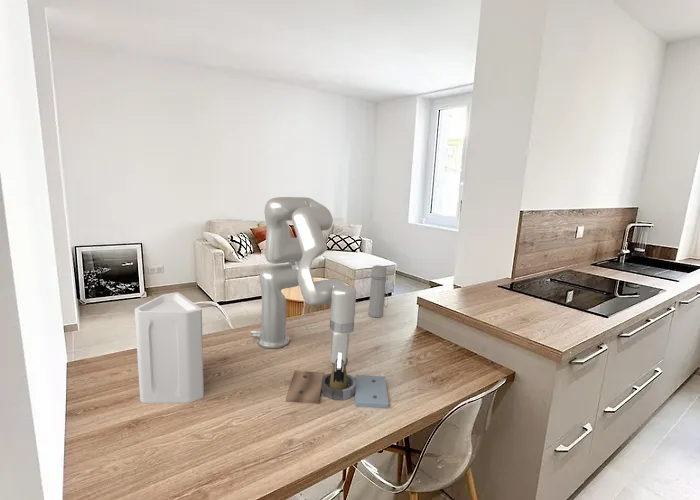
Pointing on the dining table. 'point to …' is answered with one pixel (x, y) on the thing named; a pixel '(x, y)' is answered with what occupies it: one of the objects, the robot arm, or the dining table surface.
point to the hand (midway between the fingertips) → (338, 377)
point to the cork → (339, 384)
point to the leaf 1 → (311, 387)
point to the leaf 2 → (367, 391)
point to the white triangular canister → (169, 350)
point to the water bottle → (377, 291)
